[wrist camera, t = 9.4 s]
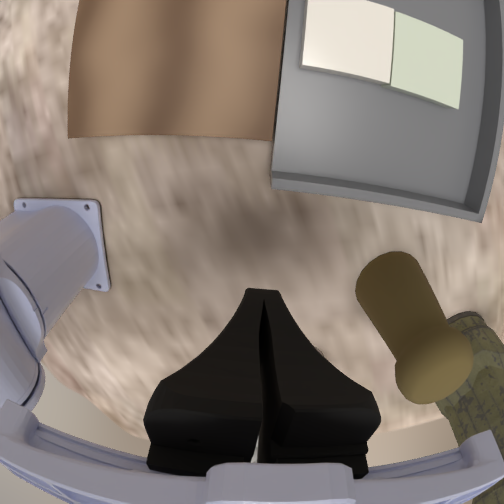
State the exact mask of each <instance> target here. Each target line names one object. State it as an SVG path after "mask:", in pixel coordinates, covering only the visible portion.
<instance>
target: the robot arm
mask: <svg viewBox="0 0 504 504" xmlns="http://www.w3.org/2000/svg"><path fill="white" fill-rule="evenodd" d="M25 204H26V205H25ZM87 204H88V205H89V207H90V209H88V208H87V206H86V205H87ZM14 209H15V211H14V212H13V213H11V214H9V215H8V216H6V217H5V218H3V219H2V220H0V463H1V464H2V465H3V466H5V467H6V468H7V469H8V470H9V471H11V472H12V473H13V474H15V475H16V476H18V477H19V478H21V479H23V480H25V481H26V482H28V483H30V484H32V485H34V486H35V487H37V488H39V489H41V490H43V491H45V492H47V493H49V494H51V495H53V496H55V497H57V498H59V499H61V500H63V501H65V502H67V503H69V504H462V503H464V502H467V501H469V500H471V499H473V498H474V497H476V496H478V495H479V494H481V493H482V492H484V491H485V490H487V489H488V488H490V487H491V486H493V485H494V484H495V483H497V482H498V481H500V480H501V479H502V478H504V461H503V458H502V455H501V453H500V450H499V448H498V446H497V443H496V441H495V438H494V436H493V434H492V431H491V430H487V431H484V432H481V433H478V434H475V435H473V436H471V437H469V438H468V439H466V440H465V441H464V442H463V443H462V444H461V445H460V447H458V448H454V449H451V450H448V451H444V452H441V453H437V454H433V455H430V456H425V457H421V458H417V459H412V460H408V461H403V462H399V463H393V464H387V465H381V466H375V467H368V465H367V460H366V455H365V454H367V452H368V446H367V441H368V439H369V438H370V437H371V436H372V435H373V433H374V432H375V431H376V429H377V428H378V426H379V425H380V423H381V416H380V412H379V408H378V406H377V403H376V401H375V398H374V396H373V394H372V392H371V391H369V390H367V389H366V388H364V387H362V386H361V385H359V384H358V383H356V382H354V381H353V380H351V379H350V378H348V377H347V376H346V375H344V374H343V373H342V372H340V371H339V370H338V369H337V368H335V367H334V366H333V365H332V364H331V363H330V362H329V361H328V360H326V359H325V358H324V357H323V356H322V355H321V354H320V353H319V352H318V351H317V350H316V348H315V347H314V346H313V345H312V344H311V343H310V341H309V340H308V339H307V338H306V336H305V335H304V334H303V332H302V331H301V329H300V328H299V326H298V325H297V323H296V322H295V320H294V319H293V317H292V315H291V314H290V312H289V310H288V308H287V307H286V305H285V303H284V301H283V299H282V296H281V294H280V292H279V291H278V290H267V289H255V288H247V289H246V290H245V294H244V297H243V299H242V301H241V303H240V305H239V307H238V309H237V311H236V312H235V314H234V316H233V317H232V319H231V320H230V321H229V323H228V324H227V326H226V327H225V328H224V330H223V331H222V332H221V333H220V335H219V336H218V337H217V338H216V339H215V340H214V341H213V342H212V343H211V344H210V345H209V346H208V347H207V348H206V349H205V350H204V351H203V352H202V353H201V354H200V355H199V356H197V357H196V358H195V359H193V360H192V361H191V362H190V363H188V364H187V365H186V366H184V367H183V368H181V369H180V370H178V371H177V372H175V373H173V374H172V375H170V376H168V377H167V378H165V379H163V380H161V381H160V383H159V384H158V386H157V388H156V389H155V391H154V393H153V395H152V397H151V399H150V401H149V403H148V406H147V409H146V412H145V416H144V419H143V421H144V426H145V429H146V432H147V434H148V437H149V439H150V442H151V445H150V449H149V454H148V457H147V458H146V457H141V456H137V455H133V454H129V453H125V452H122V451H118V450H115V449H111V448H108V447H104V446H101V445H98V444H95V443H92V442H89V441H86V440H83V439H80V438H77V437H75V436H72V435H69V434H67V433H64V432H61V431H59V430H56V429H54V428H52V427H49V426H47V425H45V424H42V423H40V422H39V421H38V419H37V417H36V416H35V415H34V414H33V413H32V412H31V411H32V410H33V409H34V407H35V406H36V404H37V402H38V401H39V399H40V397H41V395H42V392H43V390H44V386H45V372H44V369H43V367H42V365H41V363H40V361H41V360H42V358H43V357H44V355H45V353H46V352H47V349H46V347H45V345H44V339H45V337H46V336H47V334H48V333H49V332H50V330H51V329H52V328H53V326H54V325H55V323H56V322H57V321H58V319H59V318H60V317H61V315H62V314H63V313H64V311H65V310H66V309H67V307H68V306H69V305H70V304H71V302H72V301H73V300H74V298H75V297H76V296H77V295H78V293H79V292H80V291H81V290H82V288H86V289H92V290H98V291H104V292H107V291H108V290H109V289H110V280H109V274H108V268H107V262H106V255H105V248H104V240H103V232H102V223H101V214H100V205H99V203H98V202H97V201H96V200H83V199H46V198H17V199H16V200H15V201H14ZM99 284H100V285H101V286H100V285H99ZM257 440H258V453H257V463H251V460H252V457H253V455H254V451H255V448H256V444H257Z"/></svg>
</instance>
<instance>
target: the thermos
mask: <svg viewBox="0 0 504 504" xmlns="http://www.w3.org/2000/svg"><path fill="white" fill-rule="evenodd" d="M447 322H448V324H449V326H450V327H455V328H456V329H458V330H459V331H460V332H461V333H462V334H464V335H465V336H466V337H467V339H468V340H469V342H470V344H471V347H472V351H473V355H474V360H473V367H472V371H471V372H470V374H469V376H468V378H467V379H466V380H465V382H464V383H463V384H462V385H461V386H460V387H459V388H458V389H457V390H456V391H455V392H453V393H452V394H450V395H449V396H447V397H446V398H444V399H441V400H439V401H437V402H435V403H436V404H437V406H438V408H439V410H440V411H441V413H442V414H443V415H444V416H445V417H446V418H447V419H448V420H449V422H450V425H451V427H452V430H453V432H454V435H455V438H456V440H457V443H458V446H459V447H460V445H461V444H462V443H463V442H464V441H465V440H466V439H468V438H469V437H471V436H473V435H475V434H478V433H481V432H484V431H487V430H491V431H492V434H493V436H494V438H495V441H496V443H497V446H498V448H499V450H500V453H501V455H502V458H503V461H504V345H503V343H502V342H501V340H500V339H499V337H498V336H497V335H496V333H495V332H494V331H493V330H492V329H491V328H489V327H488V326H487V325H486V323H485V322H484V320H483V318H482V317H481V316H480V315H479V314H477V313H476V312H464V313H460V314H457V315H455V316H453V317H451V318H449V319H447ZM472 504H504V478H502V479H501V480H500V481H498V482H497V483H495V484H494V485H493V486H491V487H490V488H488V489H487V490H485V491H484V492H482V493H481V494H479V495H478V496H476V497H474V498H473V502H472Z"/></svg>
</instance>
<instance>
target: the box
mask: <svg viewBox="0 0 504 504" xmlns="http://www.w3.org/2000/svg"><path fill="white" fill-rule="evenodd" d="M367 1H370V2H374V3H377V4H380V5H384V6H387V7H390V8H393V9H394V12H395V11H396V12H399V13H402V14H405V15H408V16H410V17H413V18H416V19H418V20H421V21H423V22H425V23H428V24H430V25H433V26H435V27H437V28H439V29H442V30H444V31H446V32H448V33H450V34H452V35H454V36H456V37H458V38H460V39H462V40H463V63H462V80H461V91H460V101H459V109H451V108H445V107H442V106H440V105H437V104H434V103H431V102H429V101H426V100H423V99H420V98H417V97H414V96H411V95H407V94H404V93H401V92H397V91H394V90H390V89H387V88H383V87H381V85H380V84H376V83H372V82H368V81H364V80H359V79H355V78H351V77H346V76H341V75H336V74H331V73H326V72H320V71H314V70H308V69H301V68H299V62H300V52H301V41H302V30H303V19H304V7H305V0H288V2H287V13H286V23H285V33H284V44H283V54H282V64H281V73H280V83H279V93H278V102H277V112H276V121H275V131H274V140H273V149H272V159H271V168H270V182H271V189H277V190H287V191H295V192H304V193H312V194H320V195H327V196H335V197H342V198H349V199H356V200H362V201H369V202H375V203H381V204H388V205H393V206H399V207H405V208H410V209H416V210H421V211H427V212H432V213H437V214H442V215H447V216H452V217H456V218H461V219H466V220H470V221H475V222H479V223H482V220H483V217H484V214H485V210H486V207H487V203H488V199H489V196H490V192H491V188H492V184H493V179H494V175H495V171H496V166H497V161H498V156H499V150H500V145H501V139H502V132H503V125H504V0H367Z"/></svg>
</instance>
